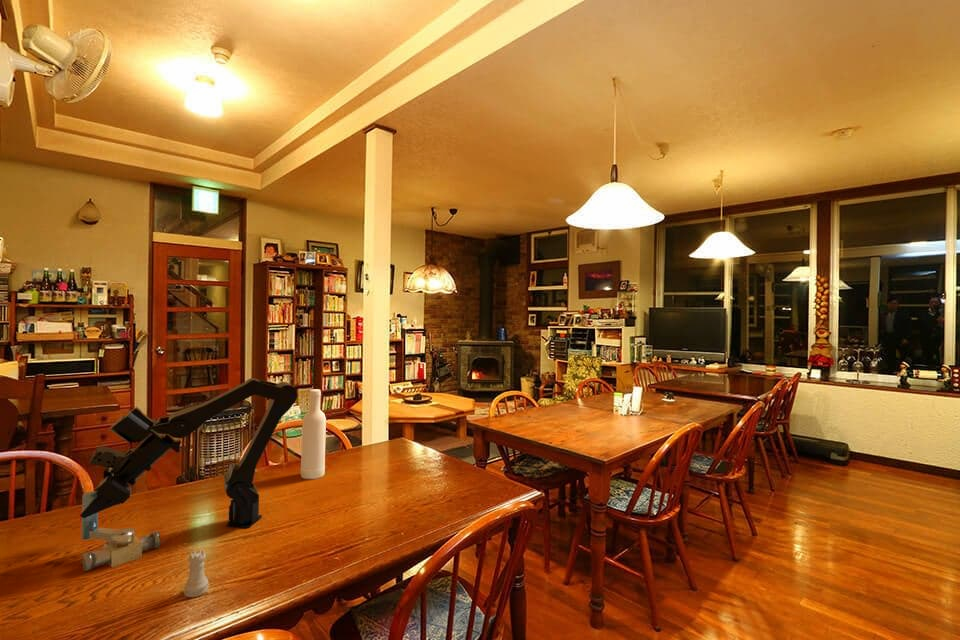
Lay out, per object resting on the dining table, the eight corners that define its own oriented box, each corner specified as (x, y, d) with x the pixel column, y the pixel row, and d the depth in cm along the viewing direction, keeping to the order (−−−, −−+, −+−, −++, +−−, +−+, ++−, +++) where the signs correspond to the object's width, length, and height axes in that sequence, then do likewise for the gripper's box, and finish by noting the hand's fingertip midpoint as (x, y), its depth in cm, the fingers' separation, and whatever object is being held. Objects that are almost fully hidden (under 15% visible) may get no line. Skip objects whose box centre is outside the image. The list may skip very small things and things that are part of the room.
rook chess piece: (190, 585, 95) (191, 547, 95) (213, 585, 96) (214, 547, 96) (178, 598, 91) (179, 559, 91) (202, 598, 91) (203, 559, 91)
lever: (138, 537, 106) (139, 494, 106) (122, 546, 102) (123, 501, 102) (93, 531, 108) (93, 489, 108) (75, 539, 104) (76, 496, 104)
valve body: (153, 542, 112) (153, 526, 112) (161, 550, 108) (162, 534, 108) (81, 566, 101) (81, 548, 101) (88, 575, 97) (88, 557, 97)
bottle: (308, 470, 164) (310, 387, 164) (328, 472, 163) (331, 388, 162) (296, 478, 156) (298, 391, 156) (317, 480, 155) (320, 392, 154)
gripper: (120, 425, 116) (60, 475, 110) (112, 444, 100) (42, 504, 94) (157, 452, 120) (101, 501, 114) (155, 474, 105) (91, 533, 99)
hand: (85, 509), depth 105 cm, fingers open, 9 cm apart
